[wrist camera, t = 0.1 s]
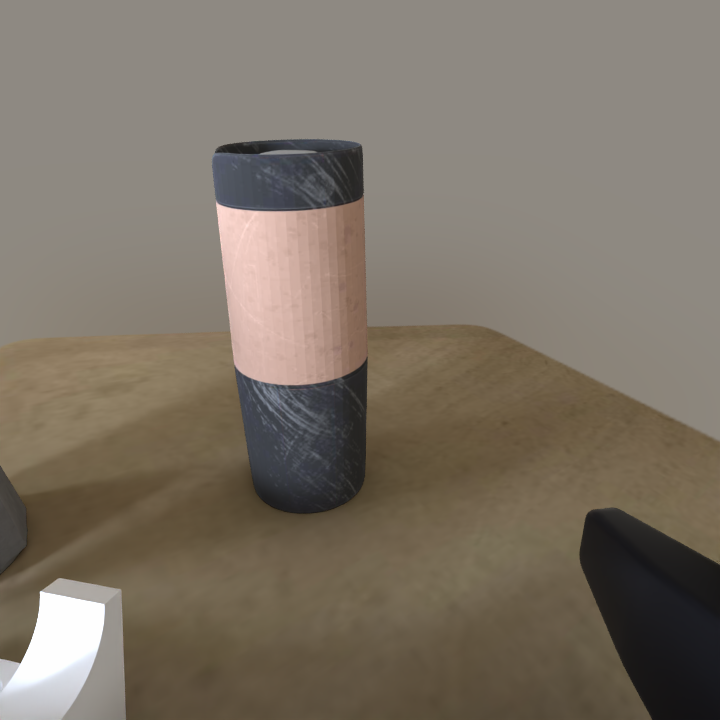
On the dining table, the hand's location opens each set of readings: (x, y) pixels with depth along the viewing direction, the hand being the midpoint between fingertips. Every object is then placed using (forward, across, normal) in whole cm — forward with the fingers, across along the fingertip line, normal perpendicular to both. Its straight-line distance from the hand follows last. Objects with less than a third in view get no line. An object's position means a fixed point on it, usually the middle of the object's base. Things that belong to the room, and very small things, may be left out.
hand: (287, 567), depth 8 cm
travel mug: (+25, -1, +17) cm, 30 cm away
